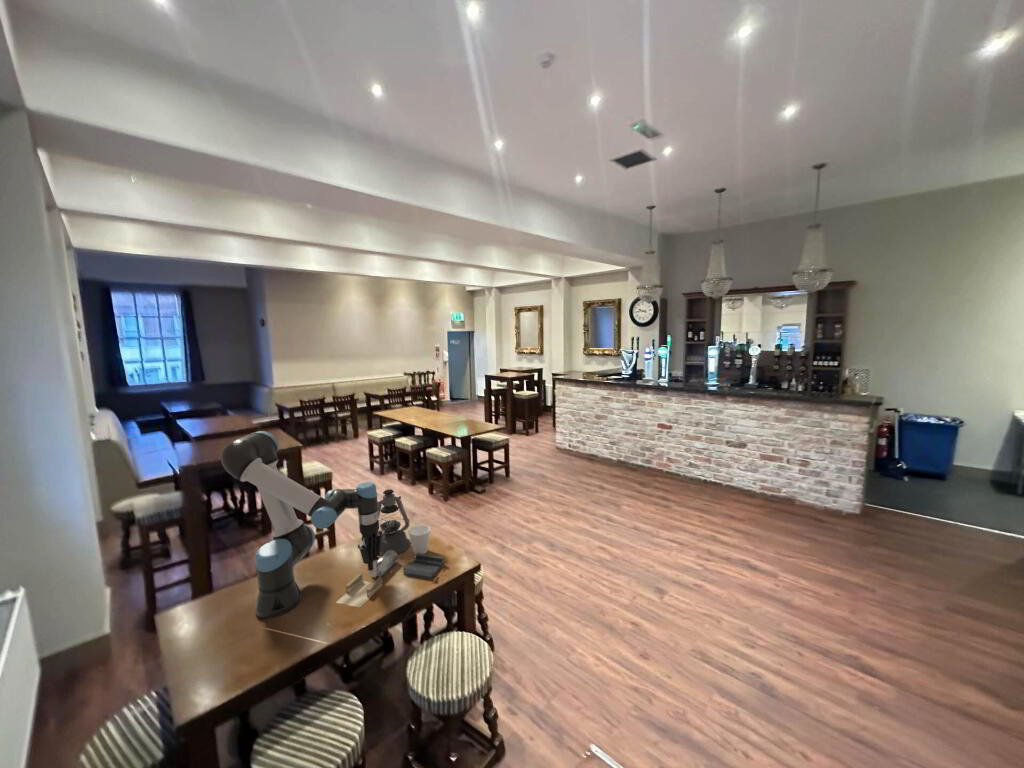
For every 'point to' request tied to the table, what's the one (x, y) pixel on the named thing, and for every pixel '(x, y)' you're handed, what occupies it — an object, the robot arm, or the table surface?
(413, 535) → the cup
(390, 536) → the lantern
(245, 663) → the table surface
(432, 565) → the v block
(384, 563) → the grey metal cylinder
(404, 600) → the table surface
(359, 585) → the bracket
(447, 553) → the table surface
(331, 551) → the table surface
